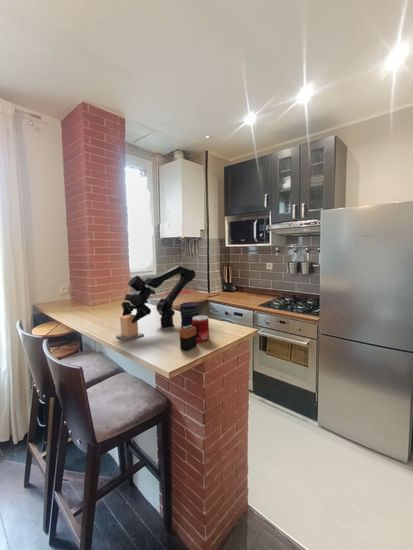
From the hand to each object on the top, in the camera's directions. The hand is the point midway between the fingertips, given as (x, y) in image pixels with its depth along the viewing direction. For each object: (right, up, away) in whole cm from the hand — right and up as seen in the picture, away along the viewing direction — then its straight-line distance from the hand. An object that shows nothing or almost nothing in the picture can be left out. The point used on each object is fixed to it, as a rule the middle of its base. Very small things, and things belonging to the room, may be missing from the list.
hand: (126, 321), depth 132 cm
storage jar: (+32, -6, +6) cm, 33 cm away
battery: (+33, -9, -17) cm, 38 cm away
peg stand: (+1, -8, +2) cm, 8 cm away
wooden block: (+1, -7, +2) cm, 7 cm away
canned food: (+38, -8, -7) cm, 40 cm away
